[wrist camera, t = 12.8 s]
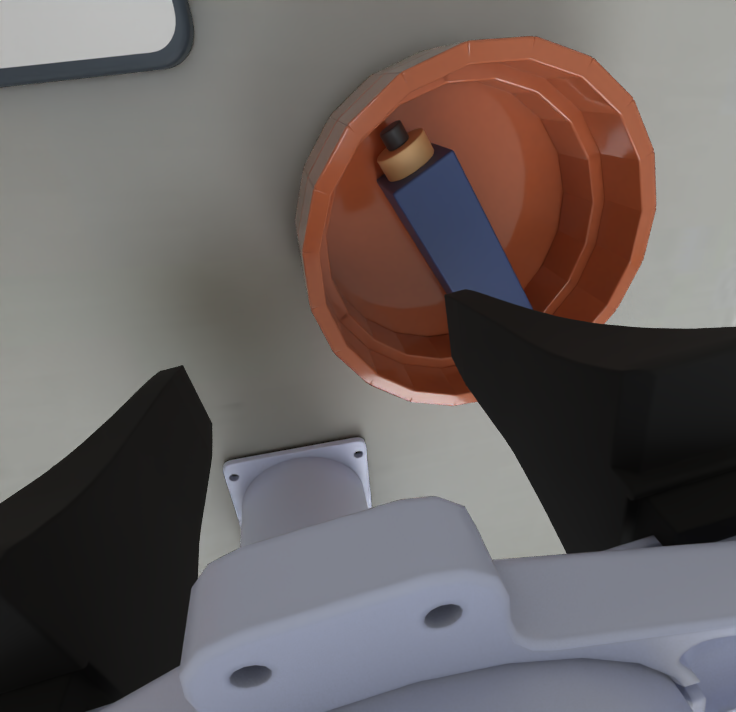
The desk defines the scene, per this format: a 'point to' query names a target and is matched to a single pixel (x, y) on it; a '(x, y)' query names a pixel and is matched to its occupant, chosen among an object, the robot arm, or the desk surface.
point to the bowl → (494, 191)
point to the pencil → (444, 216)
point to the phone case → (90, 38)
